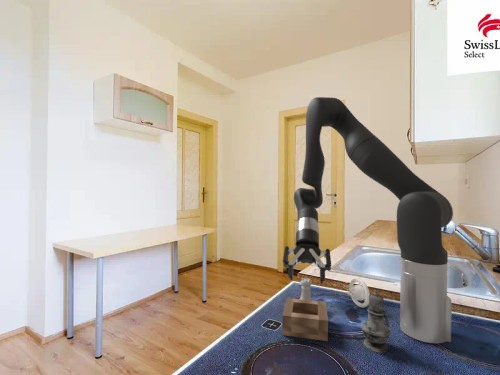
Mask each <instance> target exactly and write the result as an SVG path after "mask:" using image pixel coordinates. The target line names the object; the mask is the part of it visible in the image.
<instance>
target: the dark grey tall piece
mask: <svg viewBox="0 0 500 375" xmlns="http://www.w3.org/2000/svg"><path fill="white" fill-rule="evenodd" d="M378 292H379V291H378V290H377V289H375V290H374V292H373V293H371V294H370V295H369V304H368V307H367V308H366V311H367V313H368V314H367V315H368V317H367V318H368V319H367V321H365V322H363V323H362V324H360V328H361V329H362V333H363V336H364V337H365V338H363V339H362V340H361V341H362V342H361V343H362V345H363V346H364V347H365V348H366V349H367V350H369V351H371V352H375V353H379V354H382V353H387V352H389V351H390V346H389V344H388V343H387V342H388V341H389V339H390V335H392V331H391V329H390V328H389V327H388V326H386V325H385V323H384V320H385V319H384V317H385V315H386V311H385V310H384V297H383V296H382V295H381V294H379V293H378Z"/></svg>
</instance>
